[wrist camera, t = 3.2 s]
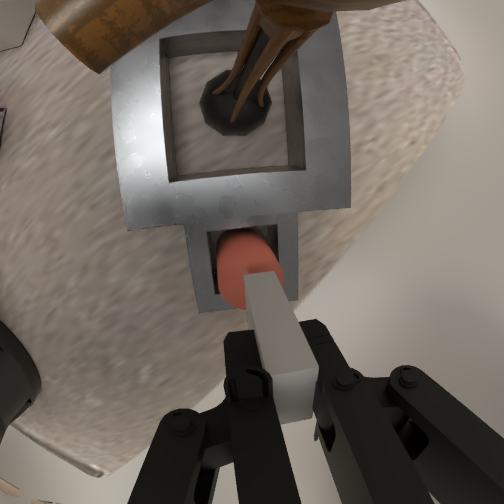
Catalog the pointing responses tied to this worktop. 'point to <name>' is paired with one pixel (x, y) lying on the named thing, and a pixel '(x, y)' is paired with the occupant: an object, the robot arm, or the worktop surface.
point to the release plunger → (242, 262)
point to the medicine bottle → (15, 21)
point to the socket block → (238, 180)
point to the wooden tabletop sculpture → (173, 8)
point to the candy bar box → (1, 120)
